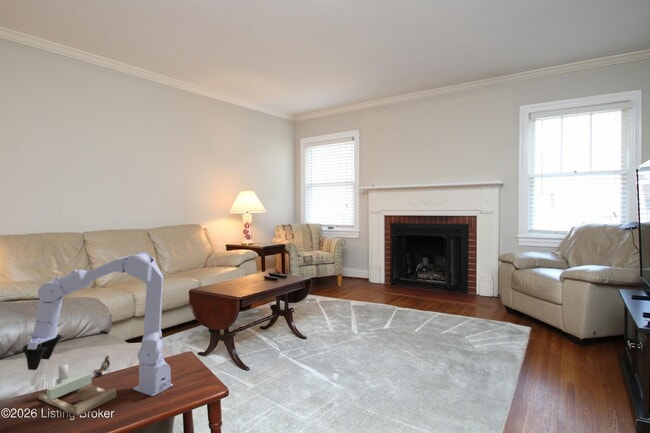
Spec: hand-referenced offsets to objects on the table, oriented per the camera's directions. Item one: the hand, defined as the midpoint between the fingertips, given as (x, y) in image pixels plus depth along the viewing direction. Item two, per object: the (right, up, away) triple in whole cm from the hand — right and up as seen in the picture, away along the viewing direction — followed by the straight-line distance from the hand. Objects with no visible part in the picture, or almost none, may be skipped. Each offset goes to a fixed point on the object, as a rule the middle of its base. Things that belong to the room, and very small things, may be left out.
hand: (39, 364), depth 113 cm
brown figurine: (+8, -11, +19) cm, 23 cm away
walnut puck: (+16, -11, -1) cm, 19 cm away
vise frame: (+11, -11, +1) cm, 16 cm away
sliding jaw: (+6, -9, +3) cm, 11 cm away
